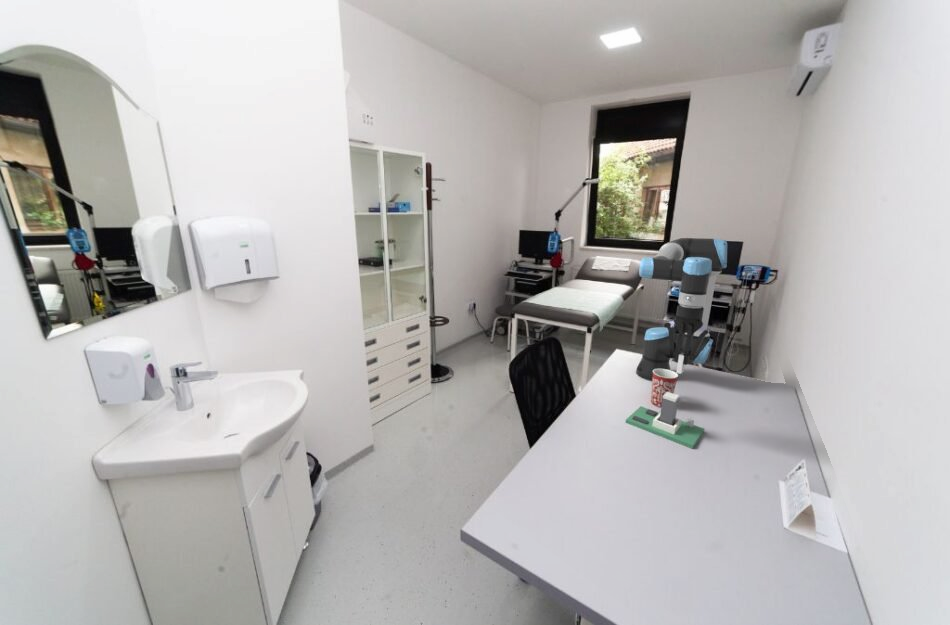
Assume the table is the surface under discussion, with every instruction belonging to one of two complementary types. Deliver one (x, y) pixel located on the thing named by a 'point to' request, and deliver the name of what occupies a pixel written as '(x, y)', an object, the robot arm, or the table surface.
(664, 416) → the plug
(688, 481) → the table surface
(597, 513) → the table surface
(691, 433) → the board
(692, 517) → the table surface
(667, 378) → the mug
